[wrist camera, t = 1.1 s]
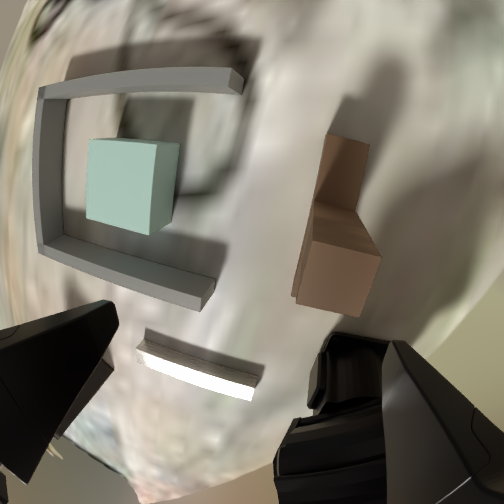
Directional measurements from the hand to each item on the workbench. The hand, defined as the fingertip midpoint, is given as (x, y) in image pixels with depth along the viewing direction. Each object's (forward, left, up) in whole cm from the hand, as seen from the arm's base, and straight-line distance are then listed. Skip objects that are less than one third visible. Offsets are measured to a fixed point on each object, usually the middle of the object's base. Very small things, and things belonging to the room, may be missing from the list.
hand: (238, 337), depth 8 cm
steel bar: (+5, +16, -13) cm, 21 cm away
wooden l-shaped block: (-3, -1, -12) cm, 13 cm away
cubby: (+13, -1, -12) cm, 18 cm away
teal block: (+11, -2, -12) cm, 17 cm away
